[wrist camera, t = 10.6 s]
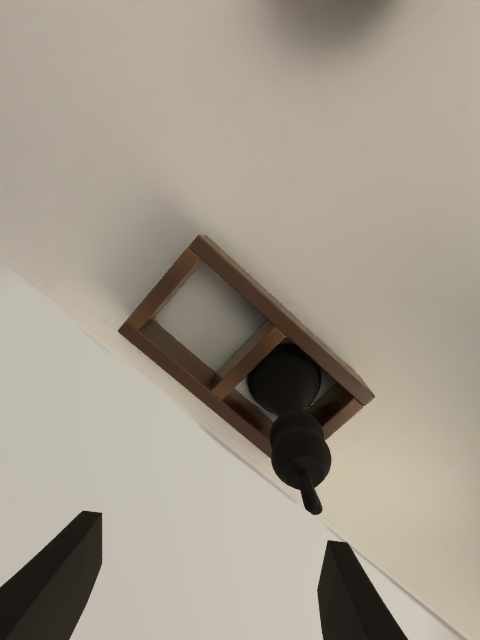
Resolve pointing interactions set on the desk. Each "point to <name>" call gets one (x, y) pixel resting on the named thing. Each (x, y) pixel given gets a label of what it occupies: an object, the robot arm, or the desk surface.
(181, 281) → the holder
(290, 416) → the chess piece
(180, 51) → the desk surface
